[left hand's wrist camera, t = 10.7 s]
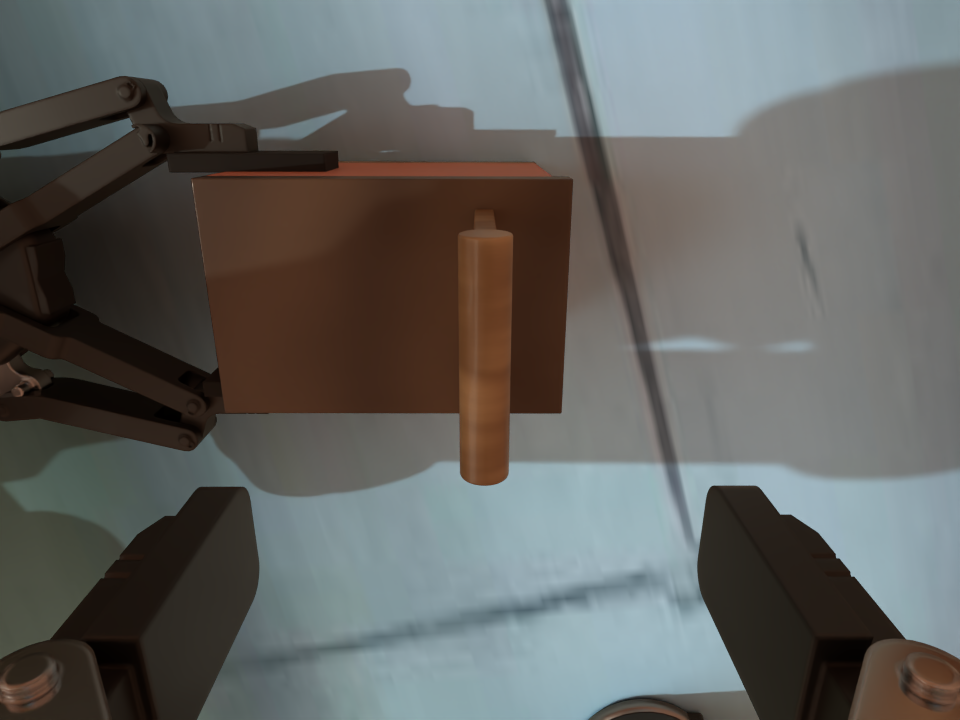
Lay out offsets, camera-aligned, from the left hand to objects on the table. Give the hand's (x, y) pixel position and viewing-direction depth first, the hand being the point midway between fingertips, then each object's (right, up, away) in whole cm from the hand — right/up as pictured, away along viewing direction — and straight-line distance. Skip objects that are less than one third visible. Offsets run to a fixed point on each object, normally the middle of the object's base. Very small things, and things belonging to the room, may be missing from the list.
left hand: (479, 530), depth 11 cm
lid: (-4, +6, +15) cm, 17 cm away
